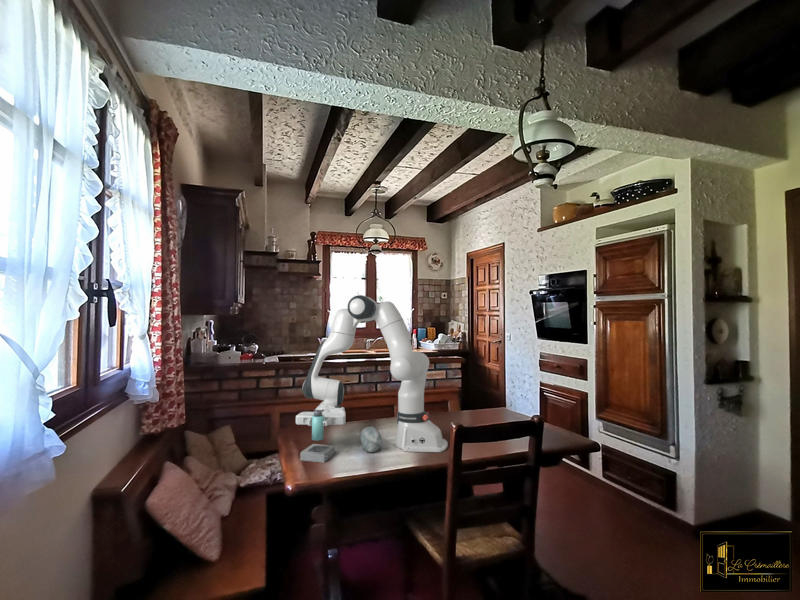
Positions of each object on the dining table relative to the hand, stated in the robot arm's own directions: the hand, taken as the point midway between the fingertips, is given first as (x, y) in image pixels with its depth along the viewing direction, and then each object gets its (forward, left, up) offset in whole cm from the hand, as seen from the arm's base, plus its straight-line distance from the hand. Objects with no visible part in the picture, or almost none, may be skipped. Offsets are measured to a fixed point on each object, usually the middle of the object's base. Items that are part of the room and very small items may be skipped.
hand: (317, 424), depth 153 cm
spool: (-17, -15, -13) cm, 26 cm away
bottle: (0, -1, -6) cm, 6 cm away
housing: (0, -1, -13) cm, 13 cm away
